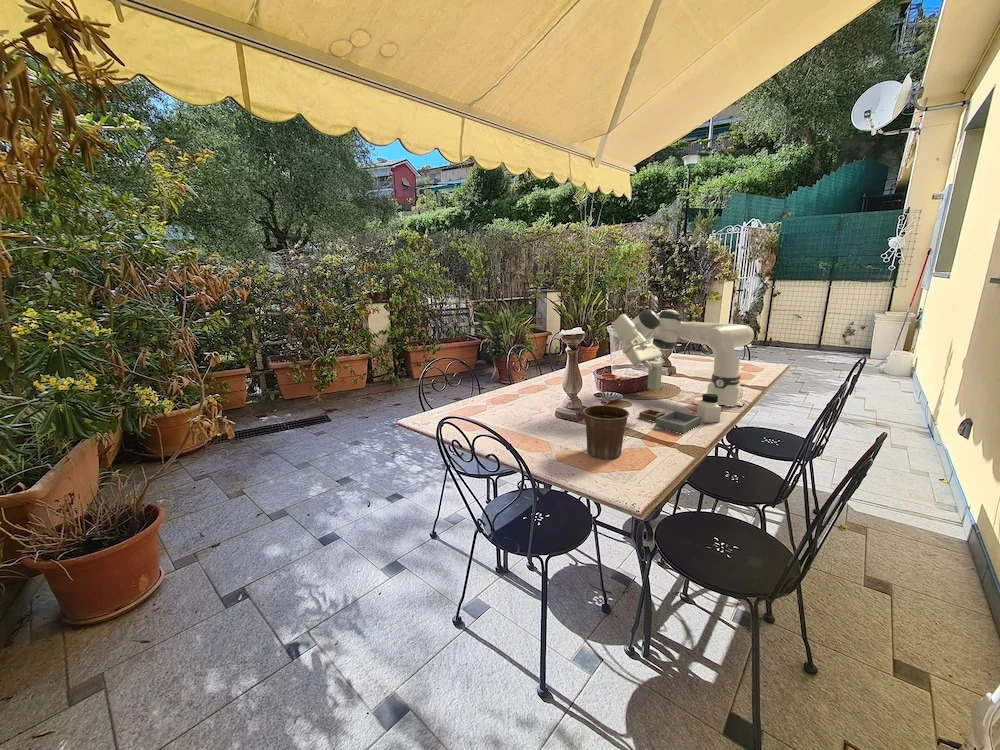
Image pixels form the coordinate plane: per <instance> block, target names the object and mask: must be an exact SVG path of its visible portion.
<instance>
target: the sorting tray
mask: <svg viewBox="0 0 1000 750" xmlns="http://www.w3.org/2000/svg"><path fill="white" fill-rule="evenodd" d="M701 419H702V417H701V416H697V414H692V413H688V412H683V411H681V410H676V409H675V410H673V411H670V412H668V413H665V415H663V416H661V417H658V418H656V422H655V428H658V427H659V429H662V428H663V429H662V430H665V429H667V430H666V431H669V430H670V431H669V432H672V431H674V432H673V433H676V432H678V433H677V434H679V433H681V434H680V435H685V434H686V432H687V433H689V432H690V431H692V430H694V429H696V428H698V427H700V426H701V425H702V421H701ZM699 425H700V426H699ZM697 426H698V427H697ZM695 427H696V428H695ZM693 428H694V429H693ZM691 429H692V430H691ZM689 430H690V431H689ZM688 431H689V432H688ZM684 433H685V434H684Z"/></svg>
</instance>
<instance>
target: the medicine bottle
mask: <svg viewBox="0 0 1000 750" xmlns="http://www.w3.org/2000/svg"><path fill="white" fill-rule="evenodd" d="M701 400H702V401H699V402H697V408H696V415H697V416H701V417H702V419H701V420H702V421H701V422H703V423H719V422H720V421H721V415H722V414H721V411H722V406H719V405H717V402H718V395H716V394H714V393H707V392H705V393H703V394H702V399H701Z"/></svg>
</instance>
